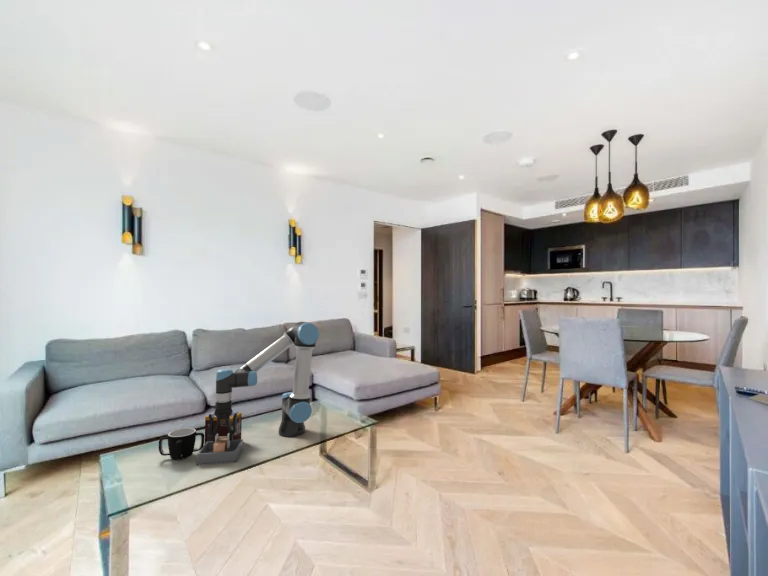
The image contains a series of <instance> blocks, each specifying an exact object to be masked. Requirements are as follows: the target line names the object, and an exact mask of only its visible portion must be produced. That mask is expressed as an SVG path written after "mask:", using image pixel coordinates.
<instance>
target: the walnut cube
mask: <svg viewBox="0 0 768 576" xmlns="http://www.w3.org/2000/svg"><path fill="white" fill-rule="evenodd" d="M220 441H223V442H225V450H227V449H228V448H227V436H219V437H218V439H217V440H216V442H220Z"/></svg>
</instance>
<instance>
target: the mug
mask: <svg viewBox="0 0 768 576" xmlns="http://www.w3.org/2000/svg"><path fill="white" fill-rule="evenodd" d="M197 436H200V445H199V447H196V446H195V445H196V440H197ZM164 440H167V447H168V451H166V452H165V451H164V450H163V441H164ZM204 444H205V433H204V432H197V429H196V428H193V427H183V428H178V429H174V430H172V431H170V432H168V433H167V436H162V437H160V438H159V440H158V452H159V454H160V456H164V457H165V456H170V459H171V460H174V461H180V460H181V461H182V460H186V459H188V458H190V457H191V456H192V455H193V453H194V452H199V451H200V450H201V449H202V447H203V446H204Z"/></svg>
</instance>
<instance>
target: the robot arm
mask: <svg viewBox="0 0 768 576" xmlns="http://www.w3.org/2000/svg"><path fill="white" fill-rule="evenodd" d="M319 337H320V331H319V328H318V327H317V326H316V325H315V324H314V323H312V322H307V321H298V322H296V323H294V324H293V325H292V326H291V327H290V328H288V329H287V330H286V331H284V332H283V335H282V336H281V337H280V338H278V339H277V340H275V341H274V342H273V343H271V344H270V345H269V346H268V347H267V346H266V348H265V349H263V350H262V351H261V352H259V353H258V354H256V355H255V356H254V357H253V358H251V359H250V360H249V361H247V362H246V363H245V364H243V365H242V366H239V367H237V368H235V370H234V371H233V369H232V368H222V369H218V370H217V371H216V376H215V406H214V407H215V408H214V412H211V413H209V414H208V415H209V419H210V423H209V434H212V435H213V442H215V443H216V440H217V439H218V434H217V430H218V427H219V424H220V420H225V421H226V423H227V427H228V431H229V434H228V435H227V448H229V447H230V441H231V440H232V434H233V433H235V432H236V430H237V414H238V413H239V412H238V411H233V409H232V406H233V403H232V402H233V401H232V399H233V389H236V388H247V387H253V386H256V385H257V384H258V373H257V372H259V371H260V370H261V369H263V368H264V367H266V366H267V365H268V364H269V363H271V362H272V361H273V360H274V359H276V358H277V357H279V356H280V355H281V354H282V353H283V352H285V351H286V350H288V349H289V348H290V347H291V346H292V347H295V349H296V355H295V364H294V373H293V383H292V391H288V392H284V393H282V395H281V396H282V397H281V420H280V424H279V426H278V427H279V428H278V435H279V436H281V437H287V438H289V437H297V436H301V435H303V434H305V433H306V425H305V422H307V421H308V420H309V418H310V417H311V415H312V412H313V409H312V405H311V398H312V396H311V395H310V393H309V390H310V389H309V388H310V387H309V386H310V378H311V371H312V370H311V367H312V357H313V350H314V349H316V346H317V345H316V344H317V341H318V340H319ZM231 414H232V416H233V430H232V426H231V422H230V417H229V416H230V415H231ZM214 415H215V416H216V417H217V422H216V426H215V429H214V431H213V421H214Z"/></svg>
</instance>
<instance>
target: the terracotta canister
mask: <svg viewBox="0 0 768 576" xmlns="http://www.w3.org/2000/svg"><path fill="white" fill-rule="evenodd" d="M214 452H225V442H223V441H220V442H216V443H214V446H213V453H214Z"/></svg>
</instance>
